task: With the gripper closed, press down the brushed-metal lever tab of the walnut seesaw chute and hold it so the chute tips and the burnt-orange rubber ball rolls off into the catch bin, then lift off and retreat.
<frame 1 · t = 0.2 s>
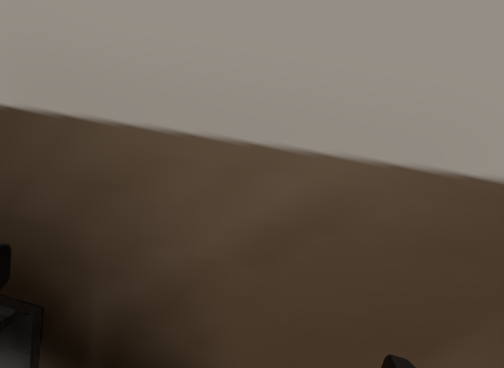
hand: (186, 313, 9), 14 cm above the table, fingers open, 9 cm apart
stand: (8, 361, 29), on the table
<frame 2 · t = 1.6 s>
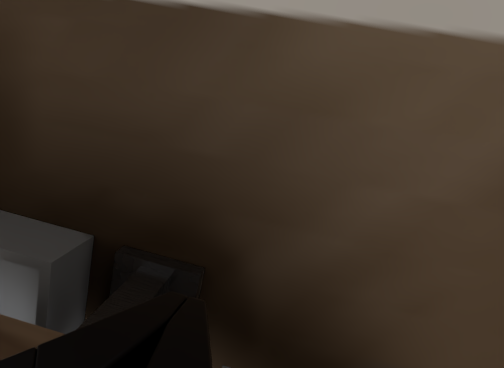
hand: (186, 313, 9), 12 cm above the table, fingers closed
stand: (150, 336, 23), on the table
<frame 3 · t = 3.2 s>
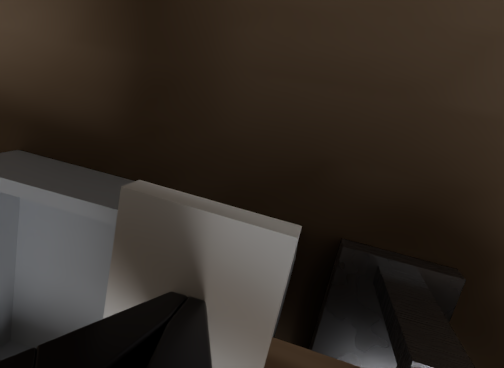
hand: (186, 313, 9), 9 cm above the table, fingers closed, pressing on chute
catch bin: (136, 290, 19), on the table
stand: (362, 358, 18), on the table
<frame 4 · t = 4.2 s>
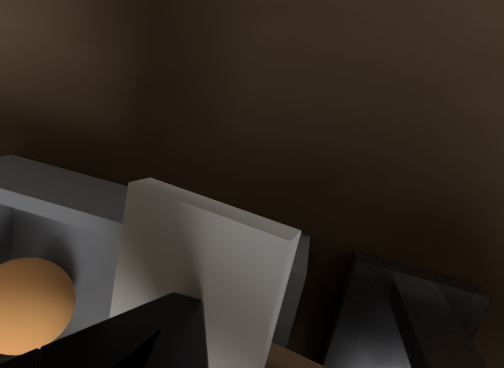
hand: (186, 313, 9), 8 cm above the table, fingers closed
catch bin: (135, 302, 18), on the table
ball: (24, 304, 16), point 2 cm above the table, tilted 83°, touching catch bin
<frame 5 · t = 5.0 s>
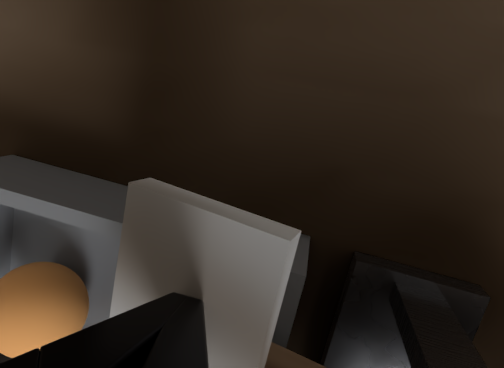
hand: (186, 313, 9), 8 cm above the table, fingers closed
catch bin: (135, 302, 18), on the table
ball: (38, 309, 16), point 2 cm above the table, tilted 63°, touching catch bin
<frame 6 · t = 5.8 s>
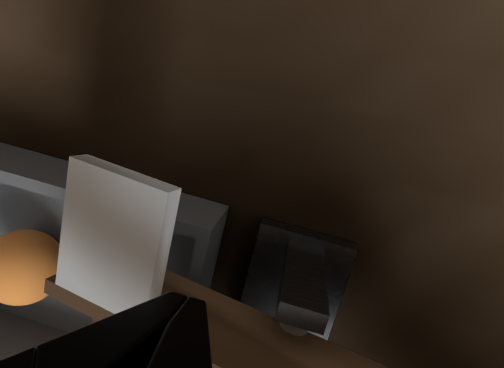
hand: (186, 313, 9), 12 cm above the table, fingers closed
catch bin: (94, 261, 22), on the table
ball: (24, 266, 20), point 2 cm above the table, tilted 44°, touching catch bin
chute: (275, 360, 15), point 6 cm above the table, hinge at 12.3°
stand: (282, 318, 21), on the table
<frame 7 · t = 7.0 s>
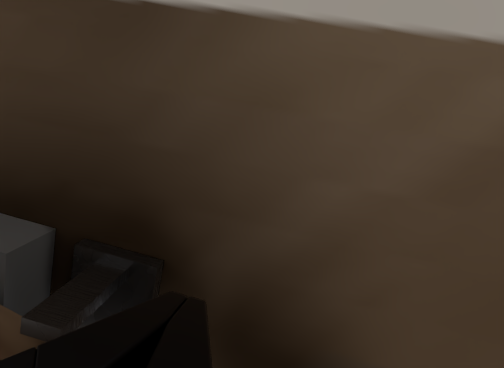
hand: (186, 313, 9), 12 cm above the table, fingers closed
stand: (112, 328, 24), on the table
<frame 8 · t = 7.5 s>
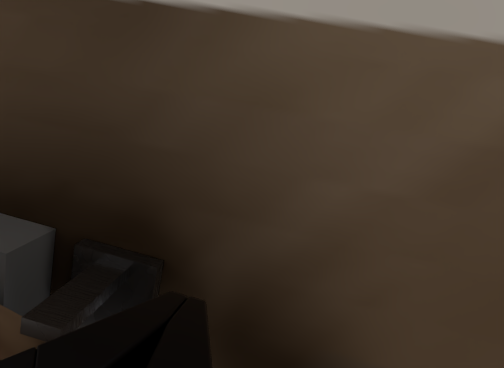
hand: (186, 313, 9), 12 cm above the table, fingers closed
stand: (112, 328, 24), on the table
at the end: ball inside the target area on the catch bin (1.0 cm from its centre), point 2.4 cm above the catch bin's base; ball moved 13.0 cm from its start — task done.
